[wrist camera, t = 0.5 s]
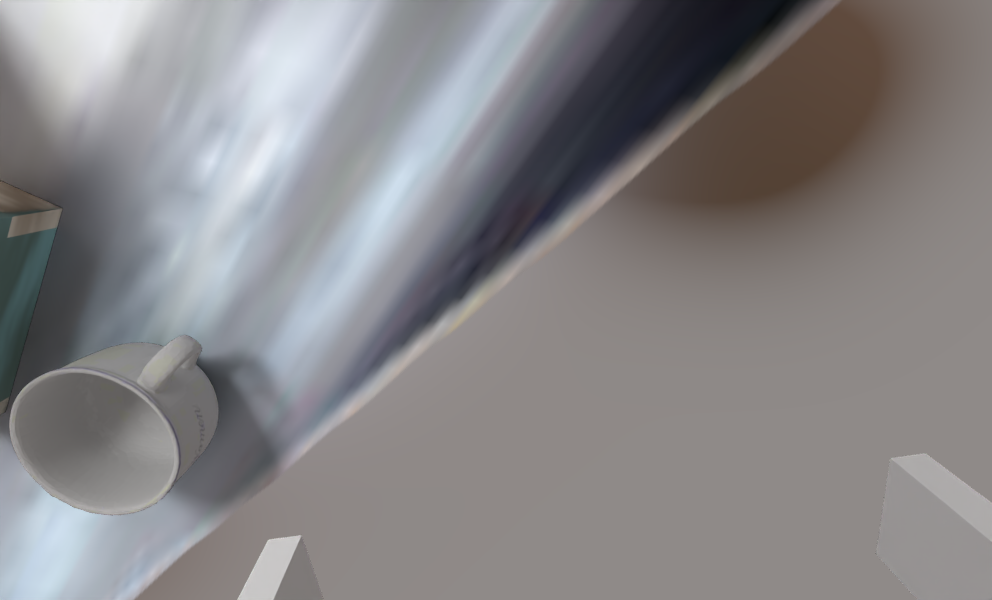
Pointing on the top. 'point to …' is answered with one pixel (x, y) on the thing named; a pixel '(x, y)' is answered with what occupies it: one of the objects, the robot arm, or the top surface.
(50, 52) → the top surface
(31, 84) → the top surface
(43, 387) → the teacup
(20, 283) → the wooden bracket
